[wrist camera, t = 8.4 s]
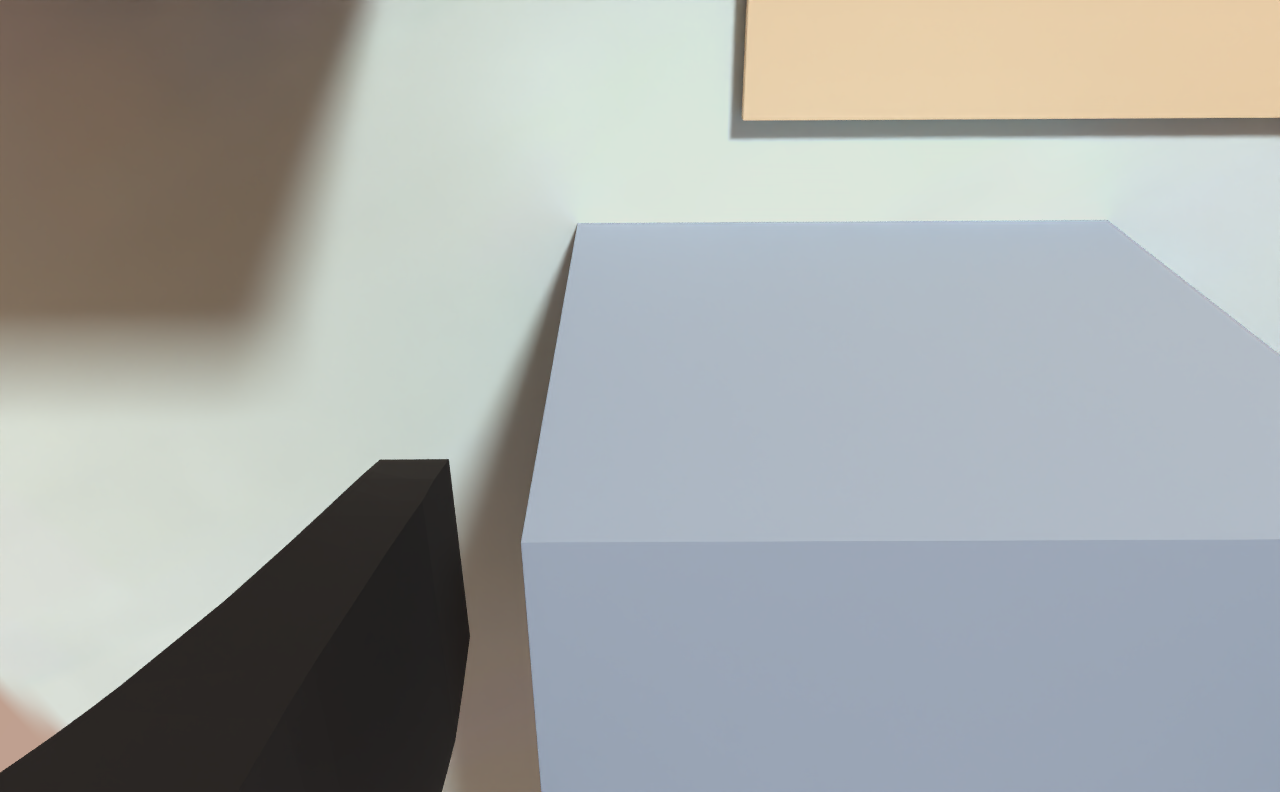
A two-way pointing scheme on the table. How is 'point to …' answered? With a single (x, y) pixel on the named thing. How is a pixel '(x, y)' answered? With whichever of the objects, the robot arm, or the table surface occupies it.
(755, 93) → the envelope
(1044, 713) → the cube
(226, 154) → the table surface
